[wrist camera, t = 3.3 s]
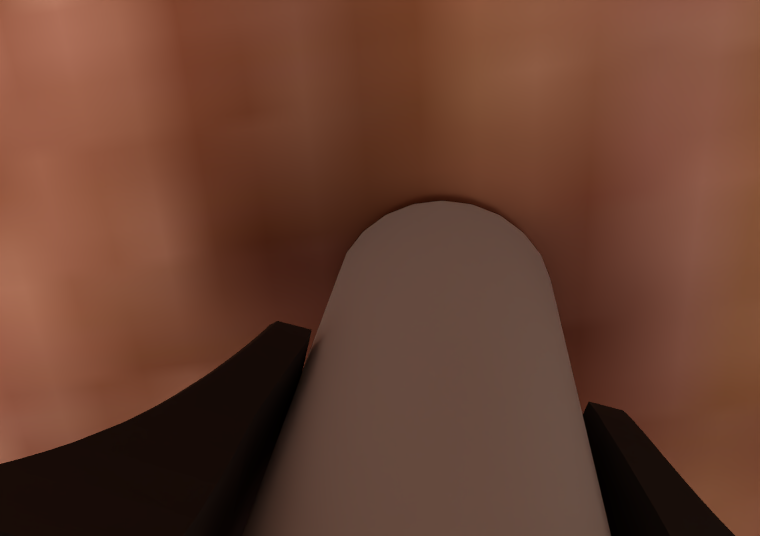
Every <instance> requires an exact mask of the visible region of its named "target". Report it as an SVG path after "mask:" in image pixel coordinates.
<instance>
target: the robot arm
mask: <svg viewBox="0 0 760 536" xmlns="http://www.w3.org/2000/svg"><path fill="white" fill-rule="evenodd" d="M310 334H311V330H310V329H306V328H302V327H298V326H295V325H291V324H287V323H283V322H279V321H276V322H275V323H273V324H271V325H269V326H268V327H267V328H266V329H265V330H264V331H263V332H262V333H260V334H259V335H258V336H257V337H256V338H255V339H254V340H252V341H251V342H250V343H249V344H247V345H246V346H245V347H244V348H242V349H241V350H240V351H239V352H237V353H236V354H235V355H234V356H232V357H231V358H229V359H228V360H227V361H225V362H224V363H223V364H221V365H220V366H219V367H217V368H216V369H214V370H213V371H212V372H210V373H209V374H207V375H206V376H204V377H203V378H201V379H200V380H198V381H197V382H195V383H194V384H192V385H190V386H189V387H187V388H186V389H184V390H182V391H181V392H179V393H178V394H176V395H175V396H173V397H171V398H169V399H168V400H166V401H164V402H162V403H161V404H159V405H157V406H155V407H153V408H151V409H150V410H148V411H146V412H144V413H142V414H140V415H138V416H136V417H134V418H132V419H130V420H127V421H125V422H123V423H121V424H118V425H116V426H113V427H111V428H108V429H106V430H103V431H101V432H98V433H96V434H93V435H91V436H88V437H86V438H83V439H81V440H78V441H76V442H73V443H70V444H67V445H64V446H61V447H58V448H55V449H51V450H48V451H45V452H42V453H39V454H35V455H32V456H28V457H25V458H21V459H18V460H14V461H10V462H6V463H2V464H0V536H242V533H243V531H244V528H245V525H246V523H247V520H248V517H249V514H250V512H251V509H252V506H253V504H254V501H255V498H256V496H257V493H258V490H259V487H260V485H261V482H262V479H263V477H264V474H265V471H266V468H267V466H268V463H269V460H270V458H271V455H272V452H273V450H274V447H275V444H276V441H277V439H278V436H279V433H280V431H281V428H282V425H283V423H284V420H285V417H286V415H287V412H288V409H289V407H290V404H291V401H292V398H293V396H294V393H295V390H296V388H297V385H298V382H299V380H300V377H301V374H302V370H303V366H304V361H305V357H306V352H307V348H308V343H309V339H310ZM583 419H584V423H585V427H586V431H587V436H588V440H589V444H590V448H591V453H592V457H593V461H594V465H595V469H596V474H597V478H598V482H599V486H600V491H601V495H602V499H603V503H604V508H605V512H606V516H607V520H608V524H609V529H610V533H611V536H735V535H734V534H733V533H732V532H731V531H730V530H729V529H728V528H727V527H726V526H725V525H724V524H723V523H722V522H721V521H720V520H719V518H718V517H717V516H716V515H715V514H714V513H713V512H712V511H711V510H710V509H709V508H708V507H707V505H706V504H705V503H704V502H703V501H702V500H701V499H700V498H699V497H698V495H697V494H696V493H695V492H694V491H693V490H692V489H691V488H690V486H689V485H688V484H687V483H686V482H685V481H684V479H683V478H682V477H681V476H680V475H679V474H678V472H677V471H676V470H675V469H674V468H673V467H672V465H671V464H670V463H669V462H668V461H667V460H666V458H665V457H664V456H663V455H662V454H661V452H660V451H659V450H658V449H657V448H656V447H655V445H654V444H653V443H652V442H651V441H650V439H649V438H648V437H647V436H646V435H645V434H644V432H643V431H642V430H641V429H640V428H639V427H638V426H637V424H636V423H635V422H634V421H633V420H632V419H631V418H630V417H629V416H628V415H627V414H626V413H625V412H624V411H623V410H619V409H615V408H611V407H608V406H604V405H600V404H596V403H592V402H588V405H587V407H586V409H585V411H584V414H583Z"/></svg>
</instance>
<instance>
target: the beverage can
mask: <svg viewBox="0 0 760 536" xmlns="http://www.w3.org/2000/svg"><path fill="white" fill-rule="evenodd" d="M242 536H611V533H610V529H609V524H608V520H607V516H606V512H605V508H604V503H603V499H602V495H601V491H600V486H599V482H598V478H597V474H596V469H595V465H594V461H593V457H592V453H591V448H590V444H589V440H588V436H587V431H586V427H585V423H584V419H583V414H582V410H581V406H580V402H579V398H578V393H577V389H576V385H575V381H574V376H573V372H572V368H571V364H570V359H569V355H568V351H567V347H566V343H565V338H564V334H563V330H562V326H561V321H560V317H559V313H558V309H557V304H556V300H555V296H554V292H553V288H552V283H551V279H550V277H549V274H548V272H547V269H546V267H545V264H544V261H543V259H542V256H541V254H540V253H539V252H538V250H537V249H536V248H535V247H534V245H533V244H532V243H531V242H530V240H529V239H528V238H527V236H526V235H525V234H524V233H523V232H522V231H520V230H519V229H518V228H516V227H515V226H514V225H512V224H511V223H510V222H508V221H507V220H506V219H504V218H503V217H502V216H500V215H498V214H495V213H493V212H490V211H488V210H485V209H483V208H480V207H478V206H475V205H472V204H465V203H458V202H450V201H435V202H427V203H419V204H412V205H410V206H407V207H405V208H402V209H399V210H397V211H394V212H392V213H389V214H386V215H385V216H384V217H382V218H381V219H379V220H378V221H377V222H375V223H374V224H373V225H371V226H370V227H369V228H367V229H366V230H365V231H363V232H362V234H361V235H360V236H359V238H358V239H357V240H356V241H355V243H354V244H353V245H352V246H351V248H350V249H349V250H348V252H347V253H346V256H345V259H344V261H343V264H342V266H341V269H340V271H339V274H338V277H337V279H336V282H335V285H334V287H333V290H332V293H331V296H330V298H329V301H328V304H327V306H326V309H325V312H324V314H323V317H322V320H321V323H320V325H319V328H318V331H317V333H316V336H315V339H314V341H313V344H312V347H311V350H310V352H309V355H308V358H307V360H306V363H305V366H304V368H303V371H302V374H301V377H300V380H299V382H298V385H297V388H296V390H295V393H294V396H293V398H292V401H291V404H290V407H289V409H288V412H287V415H286V417H285V420H284V423H283V425H282V428H281V431H280V433H279V436H278V439H277V441H276V444H275V447H274V450H273V452H272V455H271V458H270V460H269V463H268V466H267V468H266V471H265V474H264V477H263V479H262V482H261V485H260V487H259V490H258V493H257V496H256V498H255V501H254V504H253V506H252V509H251V512H250V514H249V517H248V520H247V523H246V525H245V528H244V531H243V533H242Z"/></svg>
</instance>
